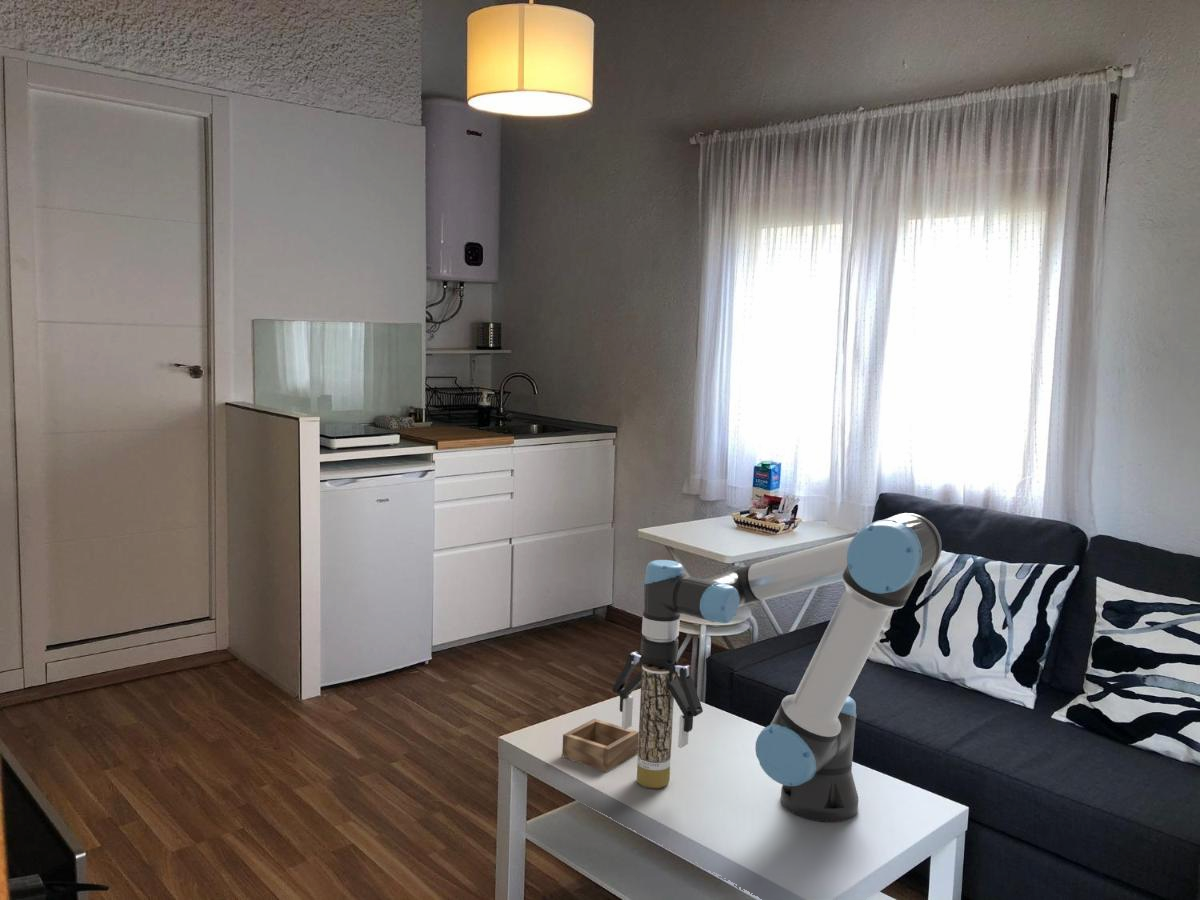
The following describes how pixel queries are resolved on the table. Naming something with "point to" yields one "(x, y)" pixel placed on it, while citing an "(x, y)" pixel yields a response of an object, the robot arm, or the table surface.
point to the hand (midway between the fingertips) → (654, 736)
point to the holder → (600, 744)
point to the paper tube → (655, 728)
